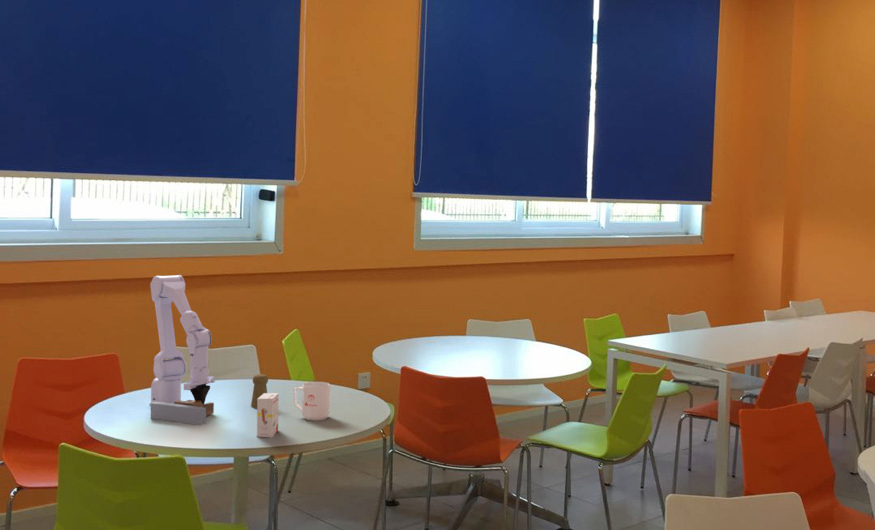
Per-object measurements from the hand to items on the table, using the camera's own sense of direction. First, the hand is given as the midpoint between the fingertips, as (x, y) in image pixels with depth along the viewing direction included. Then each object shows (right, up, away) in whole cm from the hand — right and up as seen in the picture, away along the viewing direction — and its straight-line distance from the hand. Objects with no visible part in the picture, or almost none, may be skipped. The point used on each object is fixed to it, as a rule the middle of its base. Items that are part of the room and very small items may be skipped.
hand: (199, 408), depth 294 cm
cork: (+17, -2, +14) cm, 22 cm away
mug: (+37, -3, 0) cm, 37 cm away
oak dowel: (-1, -2, -1) cm, 2 cm away
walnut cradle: (-1, -2, -2) cm, 3 cm away
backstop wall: (-4, -3, -10) cm, 11 cm away
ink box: (+26, -5, -22) cm, 34 cm away
